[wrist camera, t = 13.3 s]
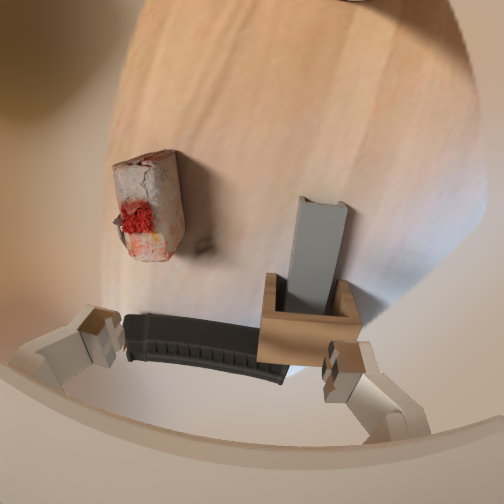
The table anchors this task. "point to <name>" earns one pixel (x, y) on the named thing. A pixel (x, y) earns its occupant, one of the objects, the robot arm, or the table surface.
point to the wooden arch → (305, 328)
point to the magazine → (198, 345)
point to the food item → (149, 206)
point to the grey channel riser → (313, 256)
